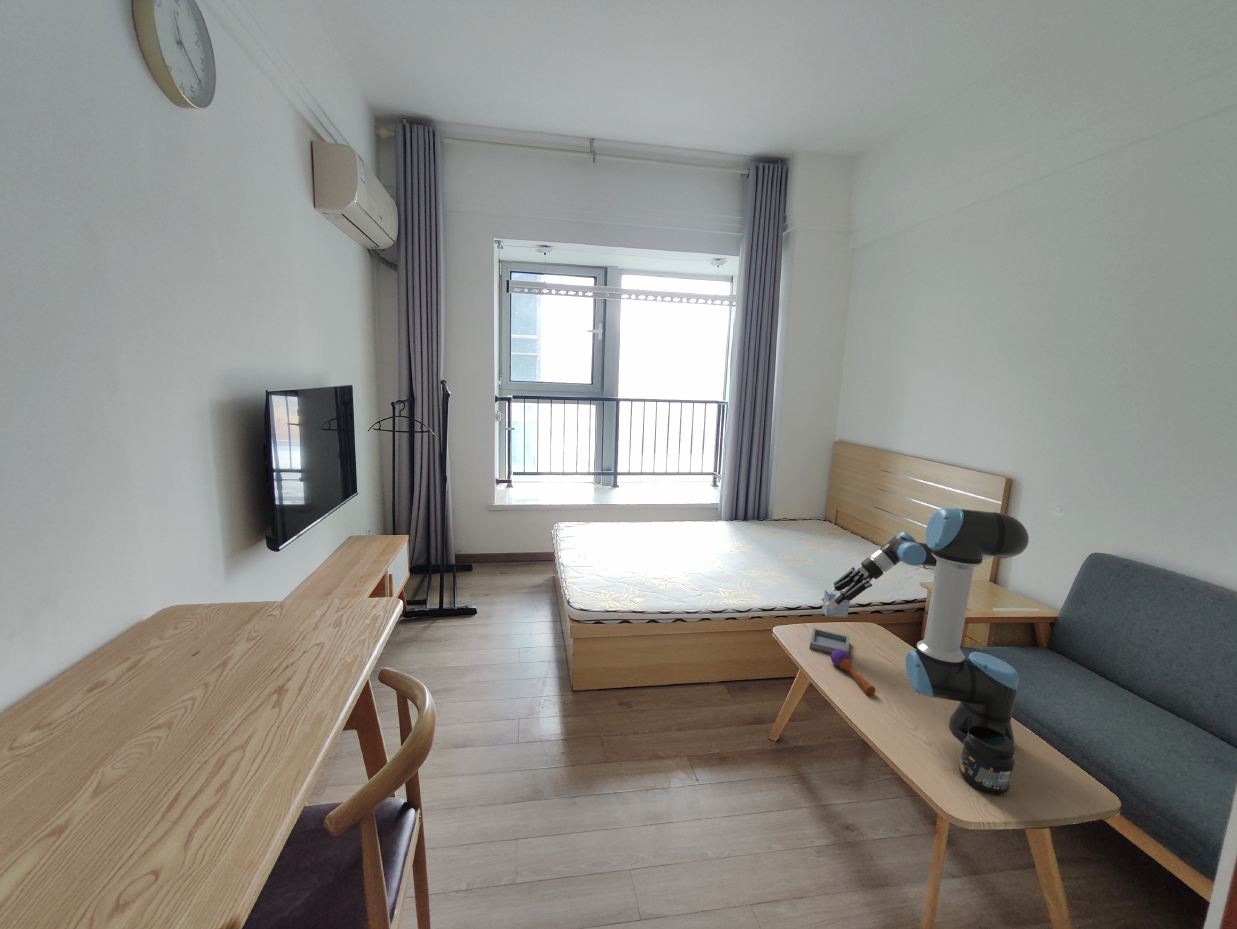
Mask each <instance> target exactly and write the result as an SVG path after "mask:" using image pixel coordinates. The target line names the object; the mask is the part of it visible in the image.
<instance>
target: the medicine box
mask: <svg viewBox="0 0 1237 929" xmlns="http://www.w3.org/2000/svg"><path fill="white" fill-rule="evenodd" d="M844 591H845V590H842V591H833V590H832V589H830V590H829V589H824V594H823V596H824V600H823V601H822V607H821V611H822V613H823V615H824V616H825V617H836V618H848V616H849V614H848V613H849V610H850V608H849V607H850V602H851V601H849V600H844V601H843V602H841V603H840V604H838V605H837V606H836V607H834V608H833V609H832V610H830V609H829V608H828V607H827V606H826V605H825V604H826V603H828V602H829V601H830V600H831V599H833V598H834V597H835V596H837V595H838V594H839V593H840V592H841V593H843V592H844Z"/></svg>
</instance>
